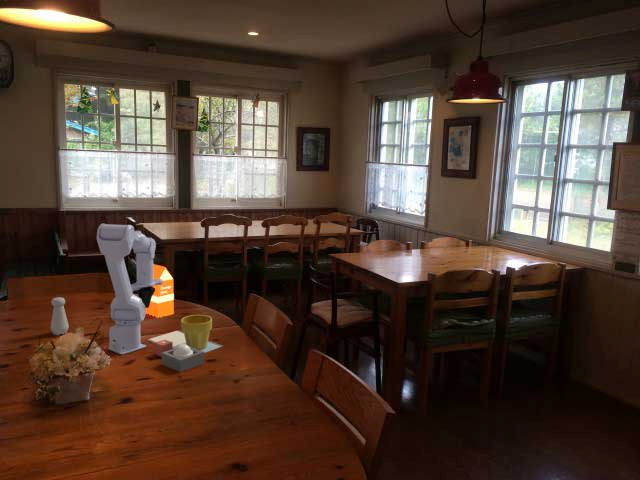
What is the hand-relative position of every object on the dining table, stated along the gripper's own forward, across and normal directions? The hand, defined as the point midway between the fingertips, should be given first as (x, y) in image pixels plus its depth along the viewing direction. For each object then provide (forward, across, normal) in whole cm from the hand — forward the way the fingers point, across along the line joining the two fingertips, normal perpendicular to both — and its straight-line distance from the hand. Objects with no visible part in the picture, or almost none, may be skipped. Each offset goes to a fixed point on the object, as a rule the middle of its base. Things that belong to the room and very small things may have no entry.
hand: (145, 307), depth 193 cm
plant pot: (+10, 0, -25) cm, 27 cm away
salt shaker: (+10, -19, +23) cm, 31 cm away
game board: (+9, 0, -19) cm, 21 cm away
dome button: (+8, -13, -32) cm, 35 cm away
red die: (+9, -11, -21) cm, 26 cm away
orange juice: (+10, +18, +14) cm, 25 cm away
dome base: (+9, -13, -32) cm, 36 cm away
